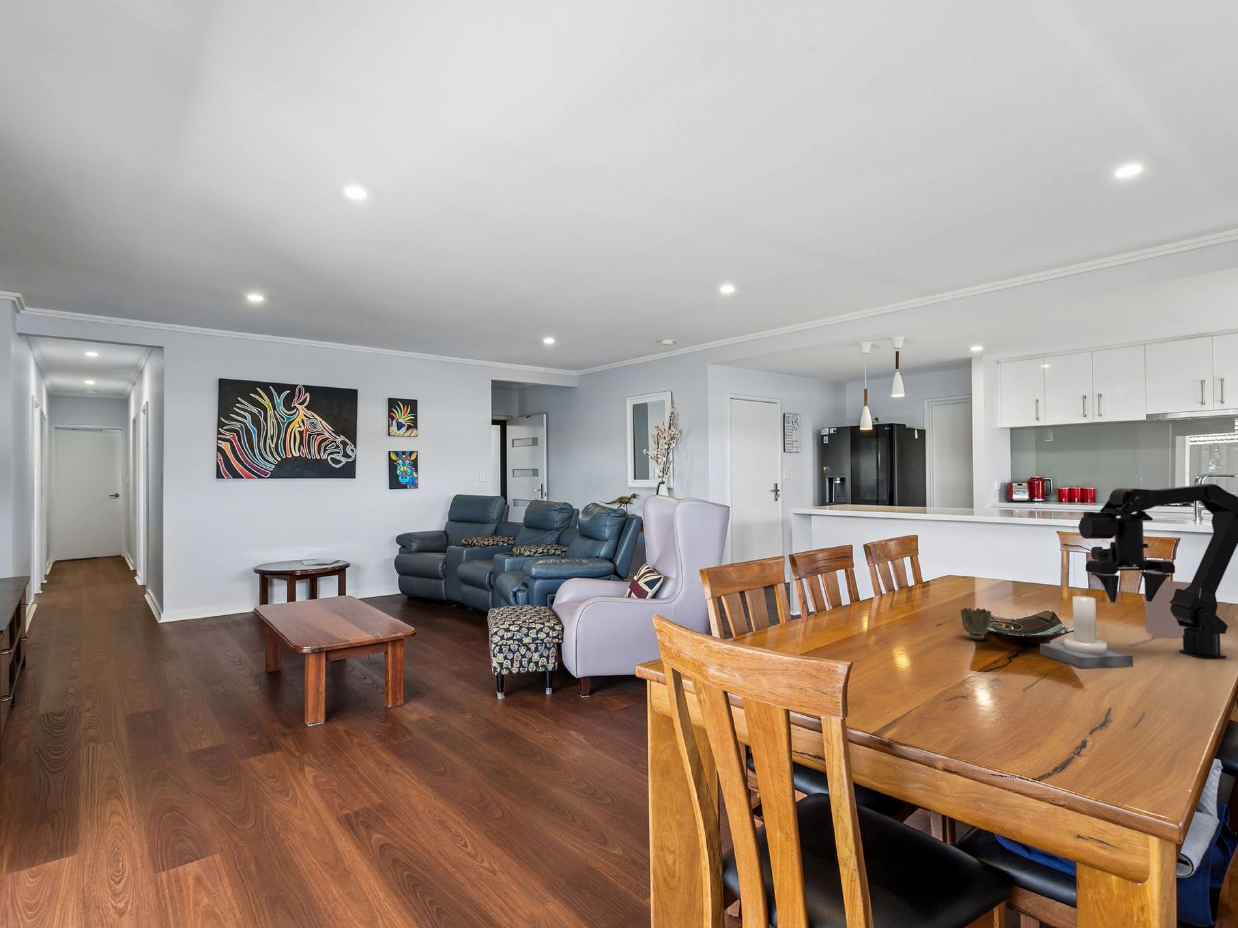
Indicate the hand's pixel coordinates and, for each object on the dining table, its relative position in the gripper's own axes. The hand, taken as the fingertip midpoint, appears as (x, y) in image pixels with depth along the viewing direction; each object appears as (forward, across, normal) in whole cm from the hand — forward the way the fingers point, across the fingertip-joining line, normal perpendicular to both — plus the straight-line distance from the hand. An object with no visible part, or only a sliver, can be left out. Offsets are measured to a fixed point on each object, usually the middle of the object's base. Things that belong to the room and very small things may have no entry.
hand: (1130, 601), depth 165 cm
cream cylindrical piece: (+10, +15, +4) cm, 19 cm away
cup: (+13, +29, -18) cm, 37 cm away
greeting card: (+13, -24, -16) cm, 32 cm away
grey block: (+13, +15, +4) cm, 20 cm away
